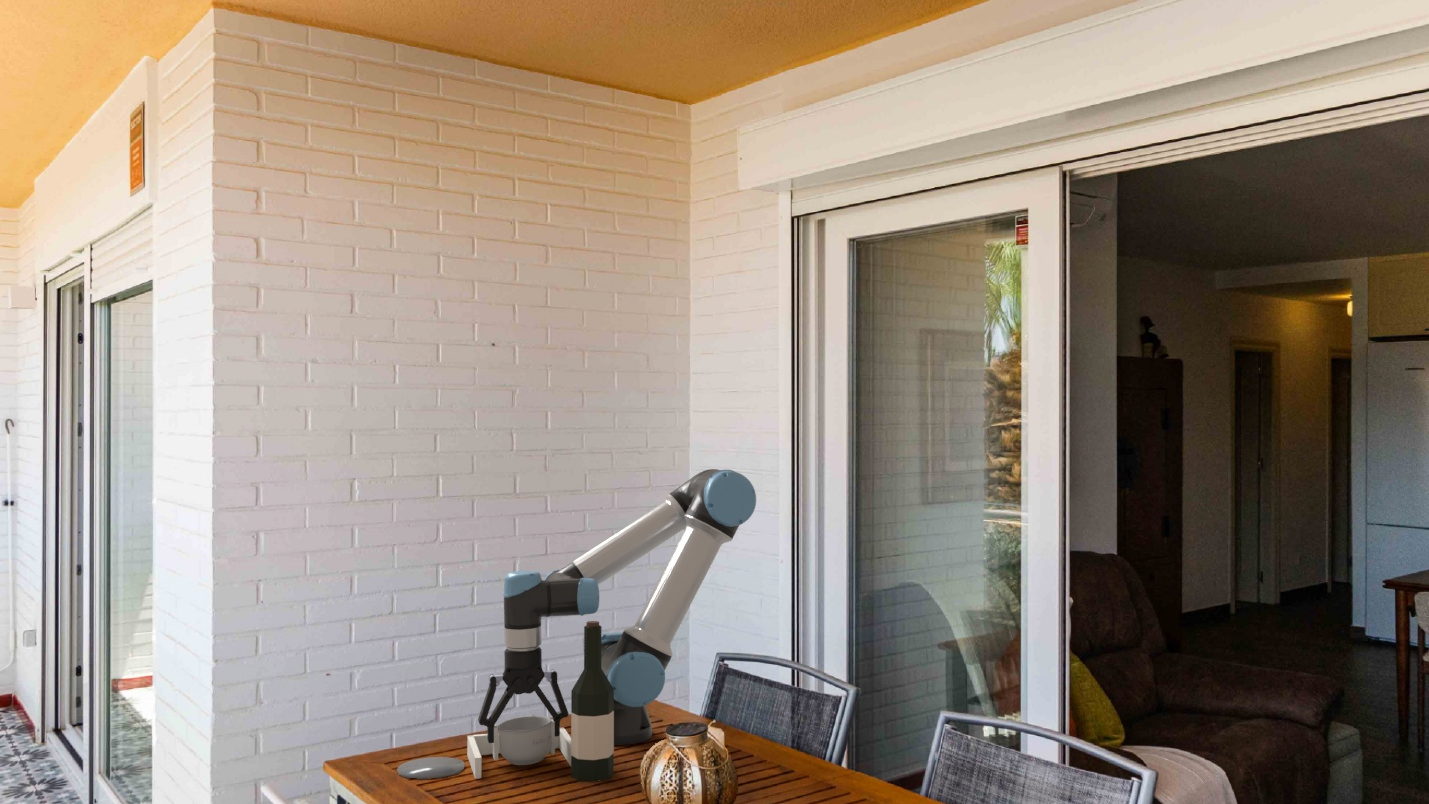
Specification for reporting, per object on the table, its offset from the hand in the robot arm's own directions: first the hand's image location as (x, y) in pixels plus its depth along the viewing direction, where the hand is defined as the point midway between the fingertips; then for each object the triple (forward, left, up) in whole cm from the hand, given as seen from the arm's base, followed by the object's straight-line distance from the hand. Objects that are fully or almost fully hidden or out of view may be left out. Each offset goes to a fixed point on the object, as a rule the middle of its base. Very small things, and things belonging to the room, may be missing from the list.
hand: (524, 755), depth 222 cm
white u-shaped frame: (0, 0, -1) cm, 1 cm away
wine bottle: (-12, +13, -2) cm, 18 cm away
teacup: (-1, 0, -1) cm, 1 cm away
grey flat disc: (+18, -1, -1) cm, 18 cm away
